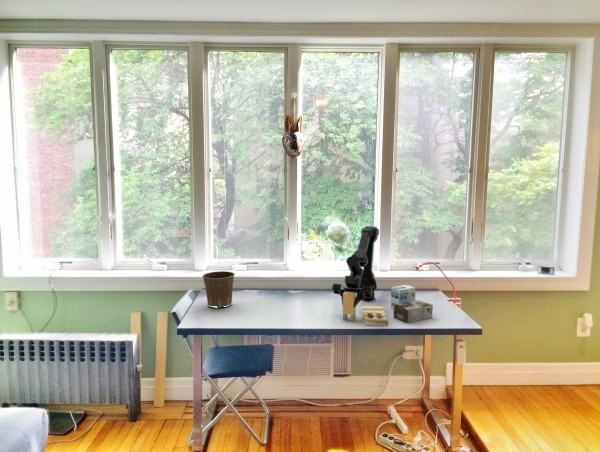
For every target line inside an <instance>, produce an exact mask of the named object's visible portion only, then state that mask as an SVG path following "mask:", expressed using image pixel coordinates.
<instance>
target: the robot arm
mask: <svg viewBox="0 0 600 452" xmlns="http://www.w3.org/2000/svg"><path fill="white" fill-rule="evenodd" d="M360 233H361V235H360V238H359V243H358V247H357V248H356V249H357V250H355V251H354V252H353V253H352V255H351V256H348V258H347V259H346V265H347V267H348V270H349V271H350V273H349V275H345V276H344V283H345V286H346V287H345V286H343V285H342V284H341V283H333V284H332V285H331V290H332V291H333V294H335V295H339V296H340V297H341V305H342V307H343V293H344V292H354V293H356V299H355V302H354V308H355V307H356V308H357V305H358V304H360V302H361V301H365V302H367V303H369V302H371V301H375V300H376V299H377V298H376V297H375V290H377V289H378V288H377V287H378V286H377V285H378V284H377V281H376V278H375V276H376V275H375V273H374V272H373V265H374V264H373V261H374V250H375V243H376V242H377V240H378V238H379V235H380V229H379V228H378V227H377V226H372V225H371V226H369V225H365V226H364V227H362V228H361V231H360Z"/></svg>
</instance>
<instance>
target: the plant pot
mask: <svg viewBox="0 0 600 452" xmlns="http://www.w3.org/2000/svg"><path fill="white" fill-rule="evenodd" d="M235 275H236V274H235V272H233V271H225V270H223V271H211V272H207V273H204V274H202V278H203V283H204V286H205V293H206V294H205V295H206V299H207V300H206V301H207V306H208V305H210V306H217V307H220V306H227V305H230V304H231V303H232V304H233V287H234V279H235ZM230 306H231V305H230ZM220 308H221V307H220Z"/></svg>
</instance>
